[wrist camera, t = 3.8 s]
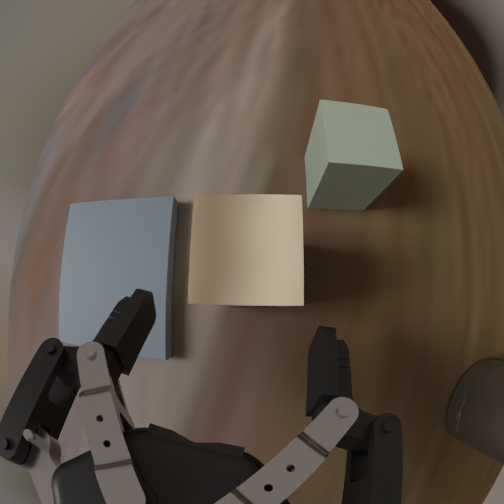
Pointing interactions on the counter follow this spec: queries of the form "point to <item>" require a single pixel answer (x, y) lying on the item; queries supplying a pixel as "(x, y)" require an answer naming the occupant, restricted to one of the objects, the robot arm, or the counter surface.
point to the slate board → (118, 266)
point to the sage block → (350, 156)
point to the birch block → (247, 250)
